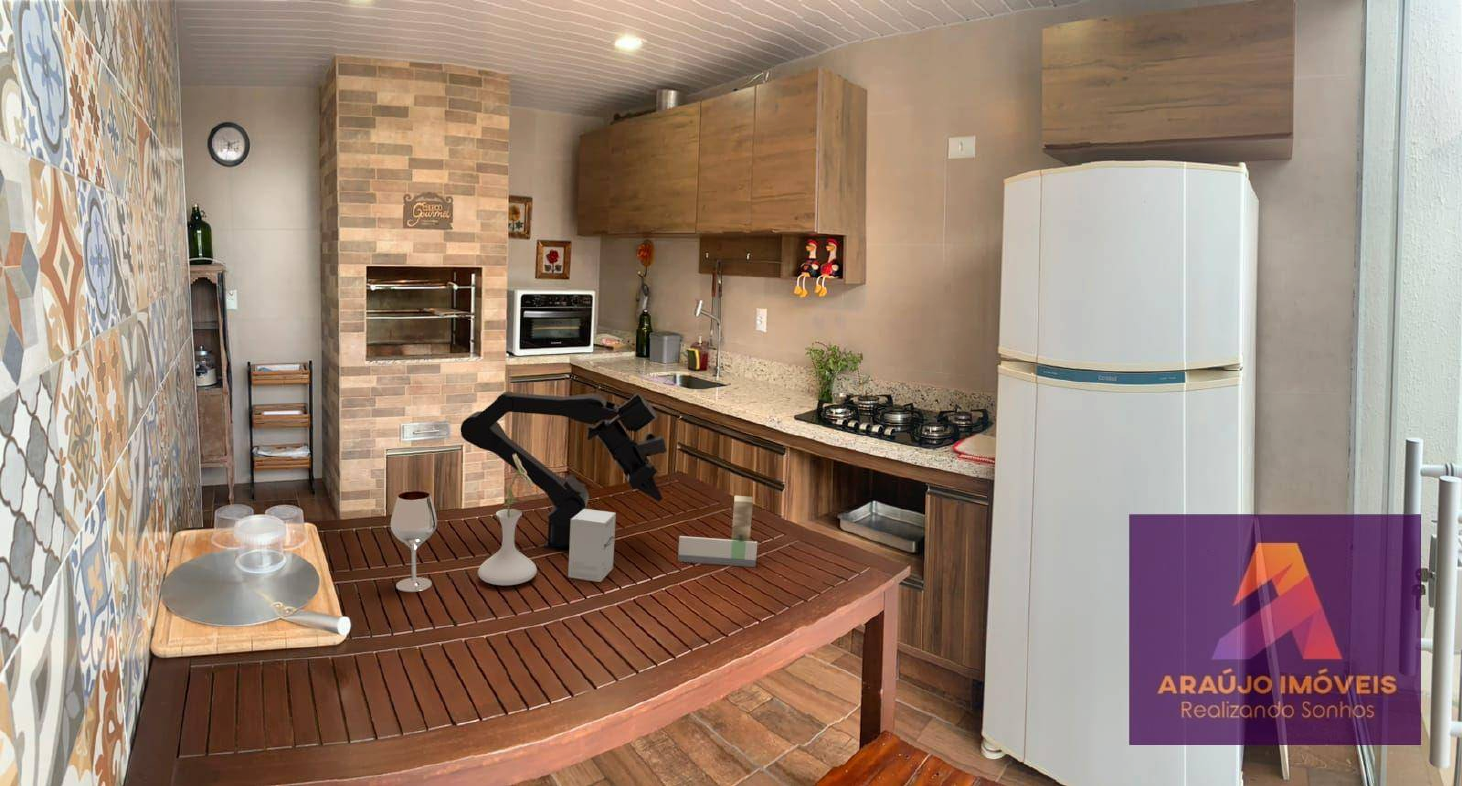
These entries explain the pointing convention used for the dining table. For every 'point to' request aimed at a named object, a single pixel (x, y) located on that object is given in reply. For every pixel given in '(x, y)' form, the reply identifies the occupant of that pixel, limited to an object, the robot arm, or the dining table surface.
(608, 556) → the supplement box
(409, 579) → the wineglass
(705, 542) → the board
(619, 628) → the dining table surface
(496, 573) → the flower in vase
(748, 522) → the beige brown box
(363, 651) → the dining table surface
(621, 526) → the dining table surface
